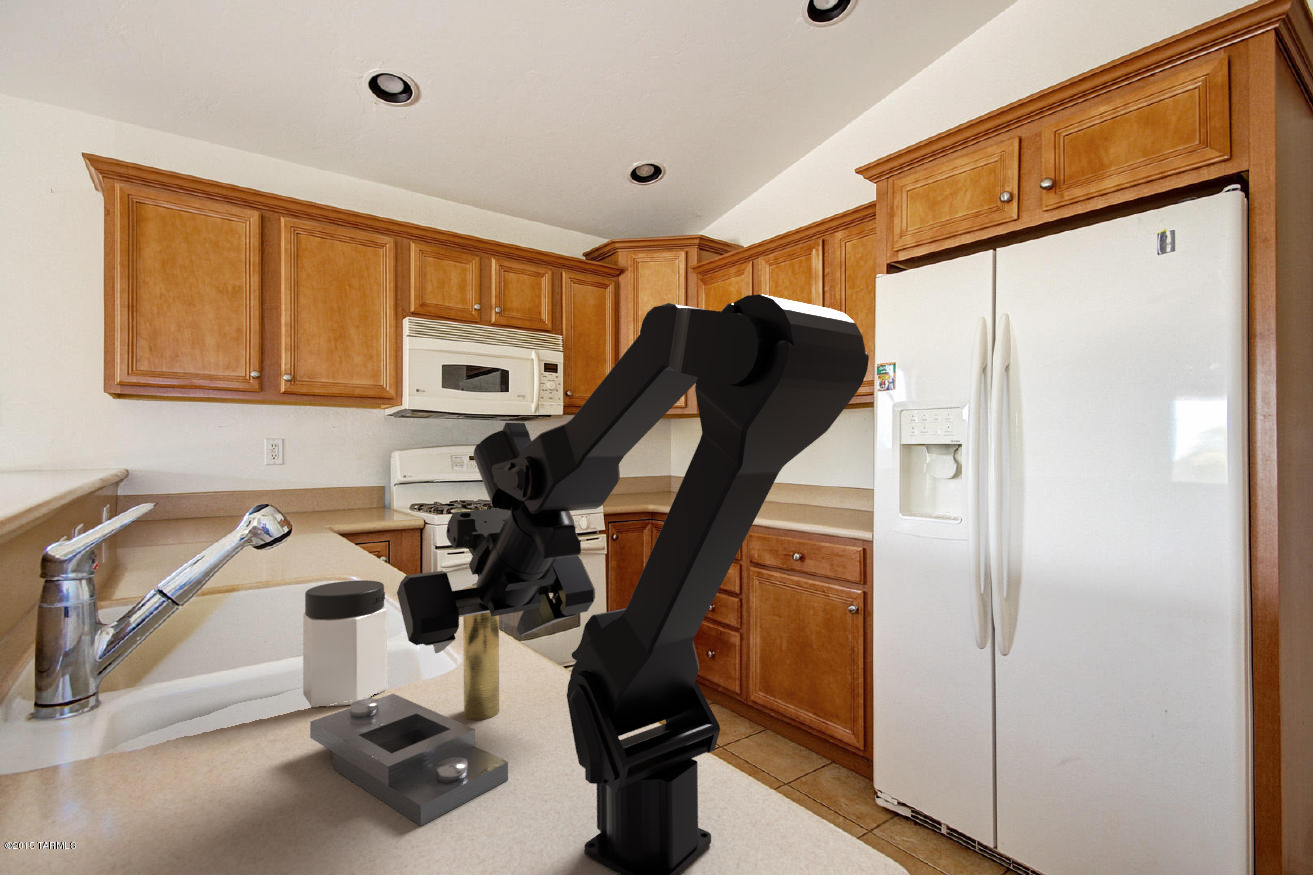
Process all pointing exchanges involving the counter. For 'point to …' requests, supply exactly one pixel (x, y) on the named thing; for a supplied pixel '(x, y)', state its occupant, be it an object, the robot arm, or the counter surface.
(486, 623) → the pin
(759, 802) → the counter surface
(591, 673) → the robot arm
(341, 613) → the jar
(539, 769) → the counter surface
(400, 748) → the grey clamp plate
